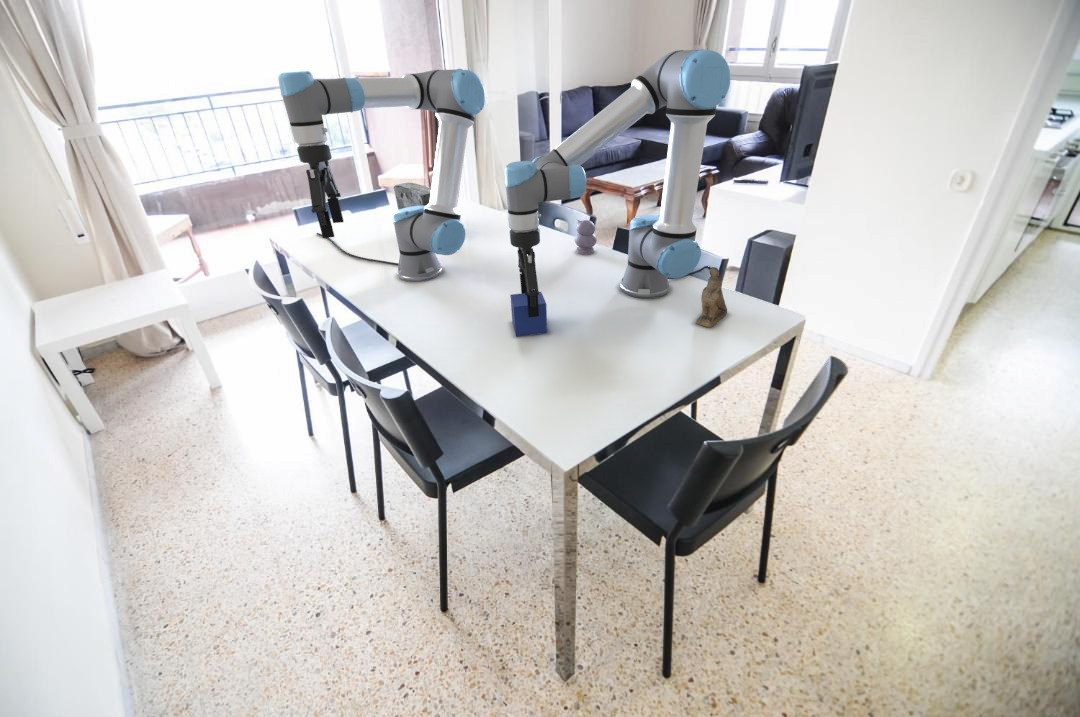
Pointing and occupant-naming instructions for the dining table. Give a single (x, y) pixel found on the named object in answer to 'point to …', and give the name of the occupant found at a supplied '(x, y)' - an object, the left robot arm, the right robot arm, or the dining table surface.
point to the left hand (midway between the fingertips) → (333, 229)
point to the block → (520, 316)
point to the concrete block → (411, 195)
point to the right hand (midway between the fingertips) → (529, 305)
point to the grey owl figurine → (585, 237)
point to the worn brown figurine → (712, 301)
